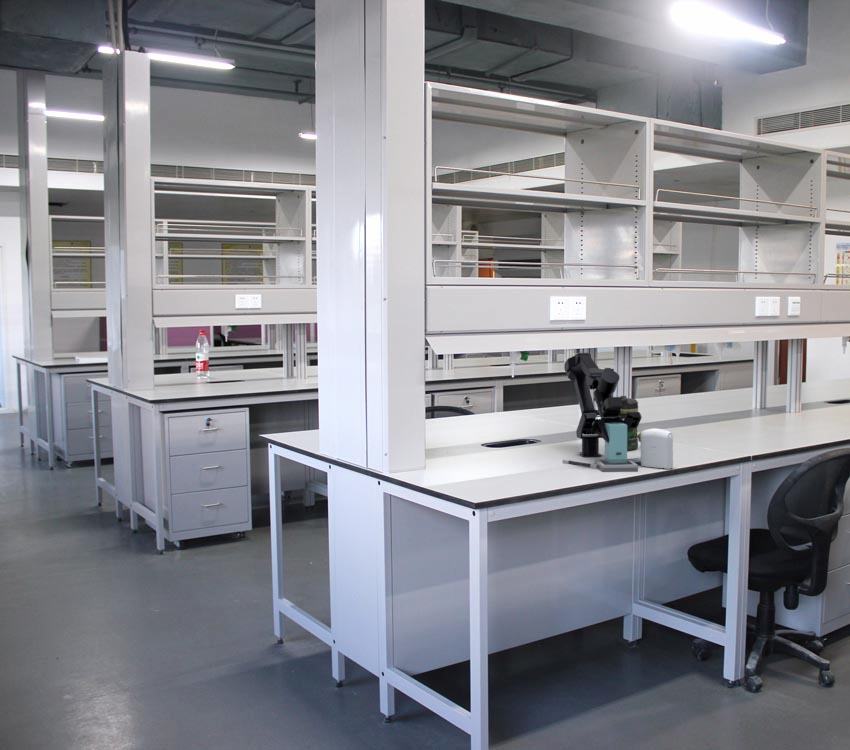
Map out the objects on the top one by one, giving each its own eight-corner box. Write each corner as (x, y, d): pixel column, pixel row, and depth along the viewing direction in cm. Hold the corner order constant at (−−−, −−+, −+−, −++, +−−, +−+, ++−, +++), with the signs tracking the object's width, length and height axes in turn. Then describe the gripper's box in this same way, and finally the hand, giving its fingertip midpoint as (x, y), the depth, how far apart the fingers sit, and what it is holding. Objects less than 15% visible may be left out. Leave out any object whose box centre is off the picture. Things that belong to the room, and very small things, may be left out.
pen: (562, 462, 267) (562, 459, 267) (565, 462, 268) (565, 459, 268) (596, 468, 256) (596, 465, 256) (599, 467, 257) (599, 464, 257)
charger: (604, 460, 258) (604, 423, 257) (621, 459, 258) (621, 422, 257) (610, 463, 252) (610, 425, 252) (627, 462, 253) (627, 424, 252)
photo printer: (638, 466, 258) (638, 428, 258) (644, 464, 262) (645, 426, 261) (668, 470, 251) (668, 430, 251) (674, 468, 255) (675, 429, 254)
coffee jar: (626, 452, 287) (626, 400, 285) (608, 449, 292) (607, 398, 291) (642, 448, 293) (642, 398, 292) (623, 446, 299) (623, 396, 298)
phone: (598, 463, 265) (598, 460, 264) (636, 461, 268) (636, 457, 268) (608, 467, 258) (608, 463, 258) (647, 464, 261) (647, 461, 261)
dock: (594, 465, 261) (594, 459, 261) (629, 465, 261) (629, 459, 261) (602, 471, 250) (602, 465, 250) (637, 471, 250) (637, 465, 250)
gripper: (583, 388, 257) (594, 427, 247) (639, 386, 259) (653, 425, 249) (575, 409, 265) (586, 448, 255) (630, 408, 267) (643, 446, 257)
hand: (617, 441), depth 254 cm, fingers closed on charger, 5 cm apart
